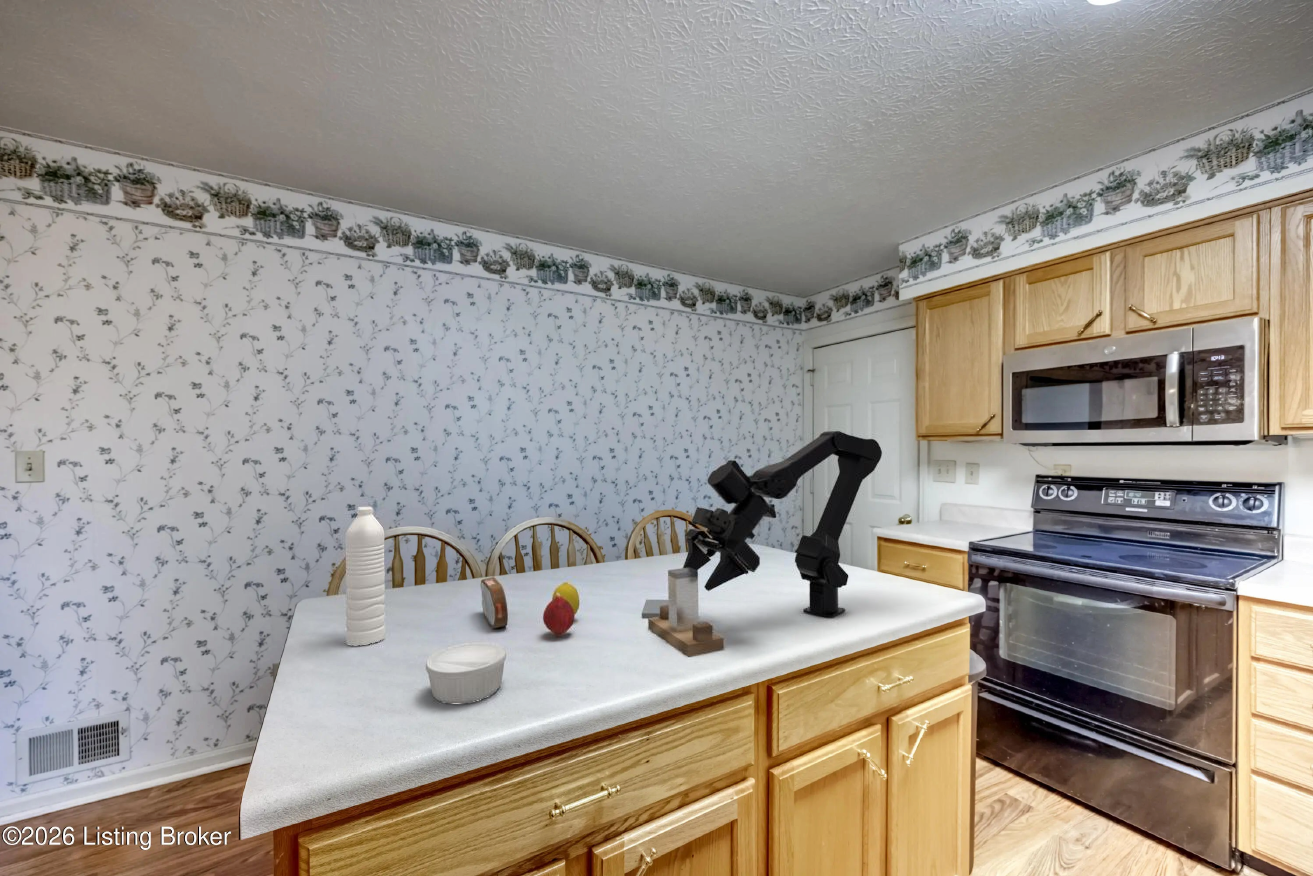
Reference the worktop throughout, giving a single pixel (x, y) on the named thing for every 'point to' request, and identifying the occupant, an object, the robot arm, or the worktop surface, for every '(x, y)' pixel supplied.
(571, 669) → the worktop surface
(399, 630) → the worktop surface
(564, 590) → the lemon
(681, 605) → the lever cap
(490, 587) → the tin
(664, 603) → the mat
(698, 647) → the body
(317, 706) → the worktop surface
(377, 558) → the water bottle
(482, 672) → the ramekin
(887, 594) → the worktop surface
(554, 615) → the onion
